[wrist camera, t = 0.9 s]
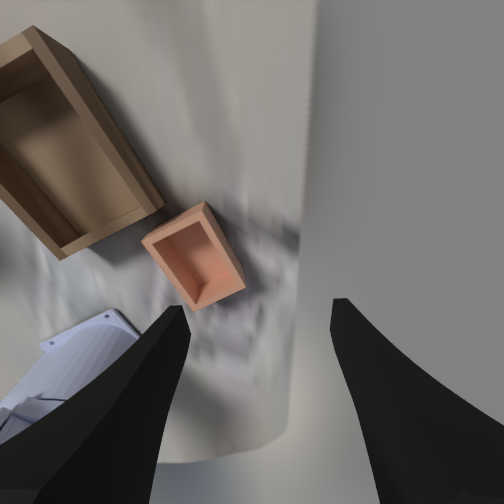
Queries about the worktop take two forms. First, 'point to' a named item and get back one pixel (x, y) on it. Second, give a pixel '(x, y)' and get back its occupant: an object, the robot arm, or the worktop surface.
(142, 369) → the robot arm
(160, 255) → the small crate
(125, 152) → the big crate
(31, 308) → the worktop surface
